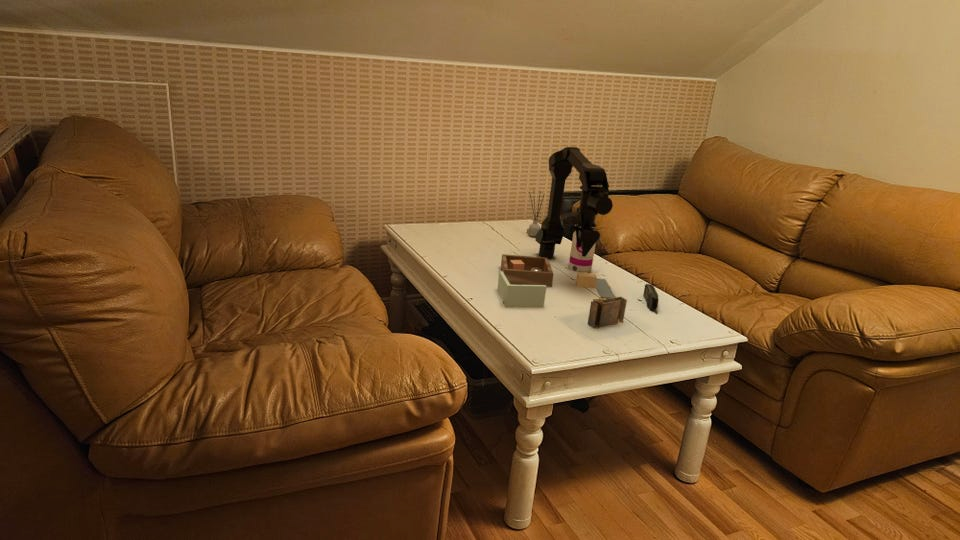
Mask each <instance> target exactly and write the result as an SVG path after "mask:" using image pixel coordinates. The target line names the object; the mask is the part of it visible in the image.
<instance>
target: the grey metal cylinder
mask: <svg viewBox="0 0 960 540" xmlns="http://www.w3.org/2000/svg"><path fill="white" fill-rule="evenodd" d="M531 271H541V272H542V269H540V268H536V267H533V268H531Z"/></svg>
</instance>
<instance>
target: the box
mask: <svg viewBox="0 0 960 540" xmlns="http://www.w3.org/2000/svg"><path fill="white" fill-rule="evenodd" d="M510 260H521V261H522V262H523V263H524V264H525V265H524V270H515V269H509V263H510ZM533 267H536V268H540V269H542V272H541V271H531V268H533ZM500 271H503V273H504V275H505V276H506V278H507V280H508V281H509V283H510V285H546V288H553V282H554V281H553V280H554V271H553V269H552V266H551V263H550V260H548V258H544V257H539V256H529V255H528V256H527V255H520V254H519V255H518V254H517V255H516V254H505V253H502V254H501V263H500Z"/></svg>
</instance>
